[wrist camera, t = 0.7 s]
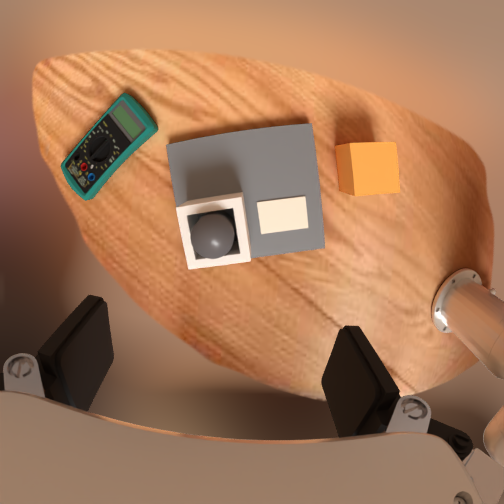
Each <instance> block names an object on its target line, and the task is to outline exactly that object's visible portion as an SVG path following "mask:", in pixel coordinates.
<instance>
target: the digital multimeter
mask: <svg viewBox="0 0 504 504" xmlns="http://www.w3.org/2000/svg"><path fill="white" fill-rule="evenodd" d="M157 131H158V127H157V125H156V124H155V122H154V121H153V119H152V118H151V117H150V115H149V114H148V113H147V112H146V110H145V109H144V108H143V107H142V106H141V105H140V104H139V103H138V102H137V101H136V100H135V99H134V98H133V97H132V96H130V95H129V94H127V93H123V94H122V95H121V96H120V97H119V98H118V99H117V100H116V101H115V102H114V103H113V104H112V105H111V107H110V108H109V109H108V110H107V111H106V112H105V113H104V115H103V116H102V117H101V118H100V119H99V120H98V121H97V123H96V124H95V125H94V126H93V127H92V128H91V129H90V131H89V132H88V133H87V134H86V135H85V136H84V138H83V139H82V140H81V141H80V142H79V143H78V144H77V146H76V147H75V148H74V149H73V150H72V152H71V153H70V154H69V155H68V156H67V157H66V159H65V160H64V161H63V162H62V163H61V169H62V171H63V174H64V176H65V178H66V180H67V182H68V184H69V185H70V187H71V188H72V189H73V190H74V191H75V192H76V193H77V194H78V195H79V196H80V197H81V198H83V199H84V200H90V199H93V198H94V197H95V195H96V194H97V193H98V191H99V190H100V189H101V188H102V186H103V185H104V184H105V183H106V181H107V180H108V179H109V178H110V177H111V176H112V174H113V173H114V172H115V171H116V170H117V169H118V168H119V167H120V166H121V164H122V163H123V162H124V161H125V160H126V159H127V158H128V157H129V156H130V155H131V154H132V153H133V152H134V151H136V150H137V149H138V148H139V147H140V146H141V145H142V144H143V143H144V142H146V141H147V140H148V139H149V138H150V137H151V136H152V135H154V134H155V133H156V132H157ZM121 153H122V154H121ZM120 154H121V155H120ZM108 167H109V168H108ZM100 176H101V177H100ZM94 183H95V184H94Z"/></svg>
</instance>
